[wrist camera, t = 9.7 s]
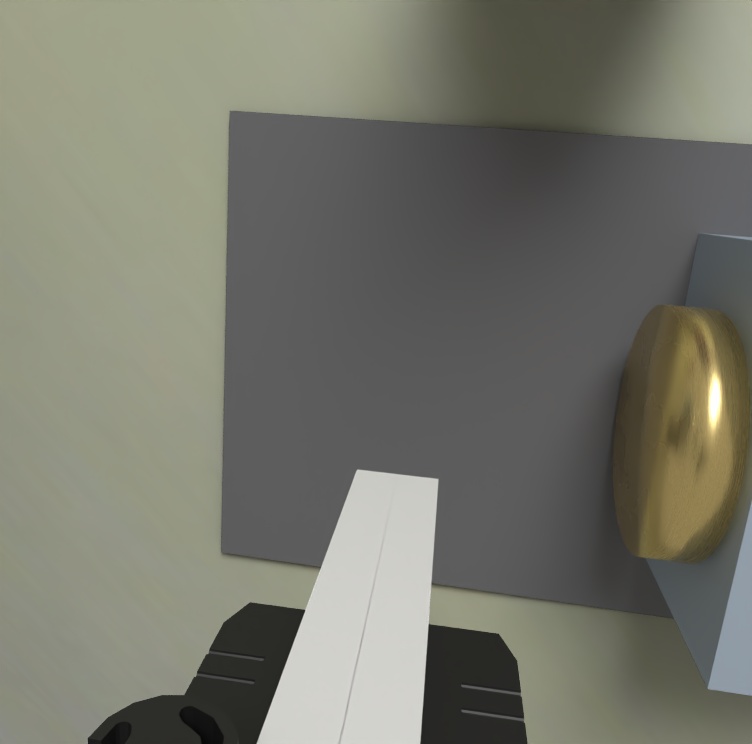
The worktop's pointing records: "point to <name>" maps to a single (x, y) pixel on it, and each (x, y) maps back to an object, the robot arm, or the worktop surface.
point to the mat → (453, 333)
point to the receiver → (748, 524)
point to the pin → (680, 434)
